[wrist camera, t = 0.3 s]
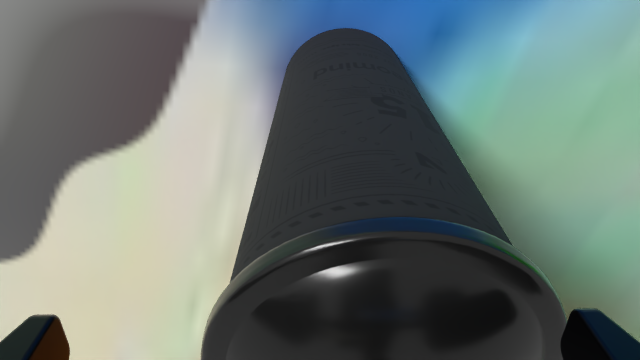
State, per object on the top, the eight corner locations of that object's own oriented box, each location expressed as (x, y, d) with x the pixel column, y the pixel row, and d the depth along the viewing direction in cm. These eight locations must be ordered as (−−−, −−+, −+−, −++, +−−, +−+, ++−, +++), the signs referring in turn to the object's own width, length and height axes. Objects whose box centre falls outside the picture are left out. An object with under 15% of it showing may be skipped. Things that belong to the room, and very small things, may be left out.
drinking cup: (412, 173, 26) (604, 865, 9) (241, 153, 25) (126, 874, 9) (463, 7, 21) (986, 750, 5) (259, -26, 21) (96, 746, 4)
